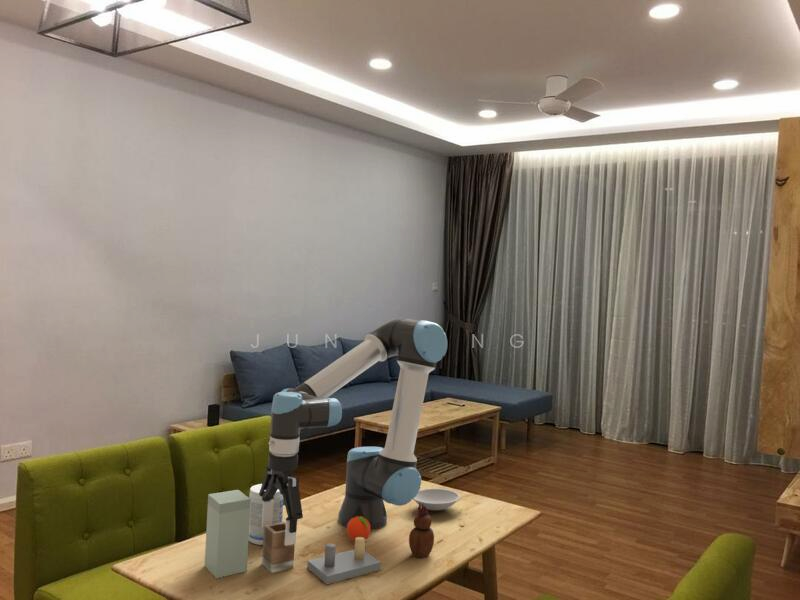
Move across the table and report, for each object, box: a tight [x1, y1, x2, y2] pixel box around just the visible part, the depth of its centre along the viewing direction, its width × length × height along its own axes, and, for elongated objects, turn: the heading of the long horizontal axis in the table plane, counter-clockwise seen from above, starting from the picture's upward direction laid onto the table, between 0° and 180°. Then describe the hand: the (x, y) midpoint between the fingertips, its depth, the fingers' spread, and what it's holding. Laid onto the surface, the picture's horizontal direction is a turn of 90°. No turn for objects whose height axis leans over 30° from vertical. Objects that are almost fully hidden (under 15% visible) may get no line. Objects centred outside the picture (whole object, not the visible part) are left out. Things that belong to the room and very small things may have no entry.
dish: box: [412, 487, 461, 511], centre depth 211 cm, size 18×14×5 cm
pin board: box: [307, 537, 382, 585], centre depth 164 cm, size 16×10×7 cm, turn 127°
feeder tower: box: [204, 489, 251, 579], centre depth 161 cm, size 8×8×18 cm
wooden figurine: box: [408, 503, 435, 558], centre depth 175 cm, size 7×6×15 cm
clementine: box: [346, 516, 372, 542], centre depth 182 cm, size 8×7×7 cm
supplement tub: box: [248, 483, 284, 546], centre depth 180 cm, size 10×10×15 cm
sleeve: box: [261, 521, 296, 574], centre depth 164 cm, size 6×6×10 cm
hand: (277, 534), depth 163 cm, fingers open, 13 cm apart
